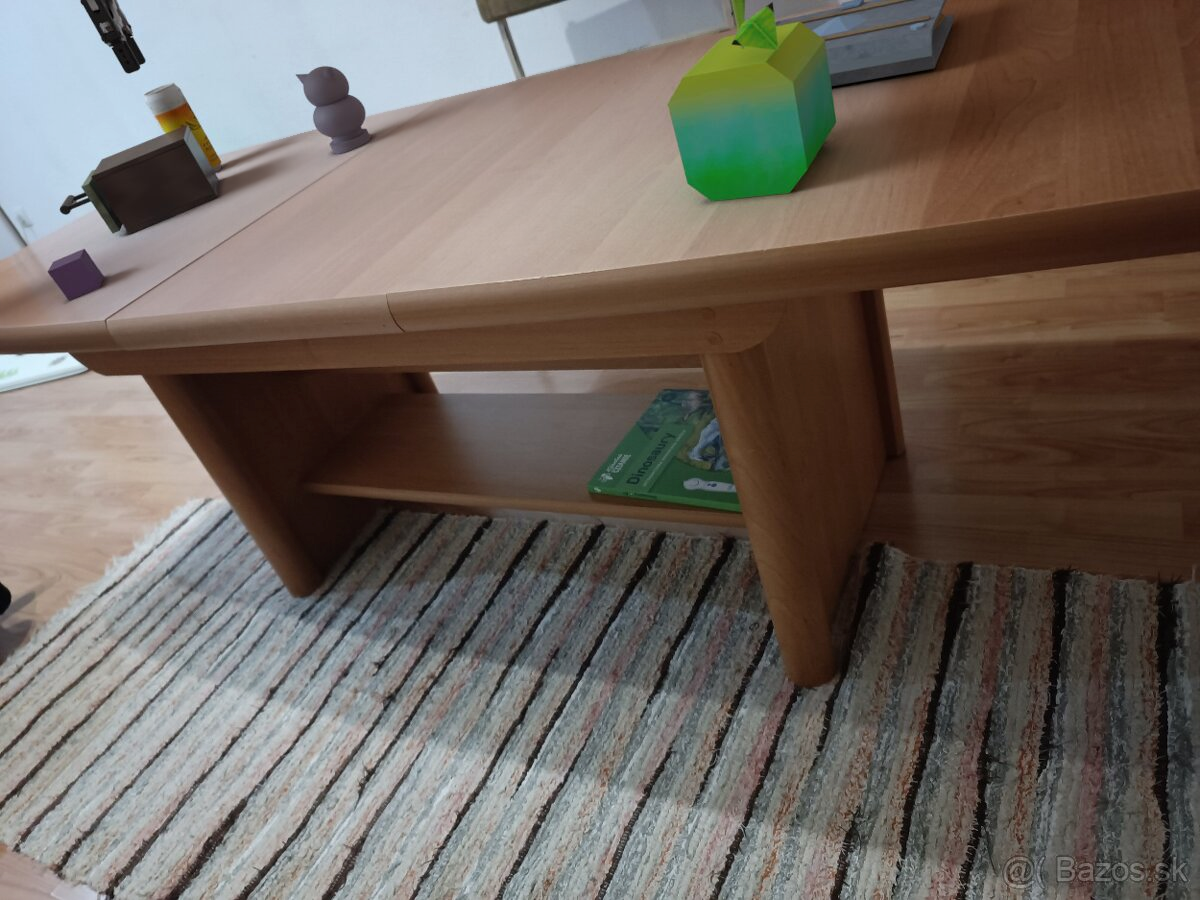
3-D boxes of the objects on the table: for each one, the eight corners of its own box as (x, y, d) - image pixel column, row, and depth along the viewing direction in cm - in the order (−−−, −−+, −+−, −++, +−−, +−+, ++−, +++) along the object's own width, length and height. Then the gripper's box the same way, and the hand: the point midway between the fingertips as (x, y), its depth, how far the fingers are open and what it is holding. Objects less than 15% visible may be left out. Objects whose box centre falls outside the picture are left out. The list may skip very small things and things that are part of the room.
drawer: (80, 247, 135) (47, 200, 130) (90, 227, 144) (60, 183, 139) (195, 199, 137) (166, 151, 132) (197, 183, 146) (171, 138, 142)
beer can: (226, 168, 153) (177, 82, 145) (193, 182, 152) (142, 97, 143) (221, 163, 158) (174, 80, 150) (189, 177, 157) (140, 94, 148)
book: (730, 110, 95) (720, 63, 92) (770, 58, 106) (763, 15, 103) (933, 75, 85) (929, 22, 82) (954, 22, 96) (952, -27, 93)
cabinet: (129, 234, 135) (90, 176, 130) (136, 214, 146) (101, 159, 140) (217, 197, 137) (183, 138, 132) (219, 180, 148) (187, 124, 142)
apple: (692, 203, 78) (648, 28, 69) (727, 157, 84) (691, -9, 76) (810, 190, 72) (779, -1, 64) (839, 142, 79) (814, -38, 70)
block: (68, 301, 115) (47, 271, 113) (73, 290, 119) (52, 261, 116) (100, 287, 116) (79, 258, 113) (104, 277, 119) (84, 248, 117)
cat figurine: (386, 131, 138) (352, 53, 131) (356, 152, 133) (319, 72, 126) (349, 137, 143) (314, 63, 136) (318, 158, 138) (280, 81, 131)
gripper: (51, -44, 125) (118, 71, 134) (32, -43, 113) (106, 83, 123) (102, -61, 126) (165, 54, 135) (88, -62, 114) (157, 64, 124)
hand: (137, 68), depth 129 cm, fingers open, 8 cm apart
